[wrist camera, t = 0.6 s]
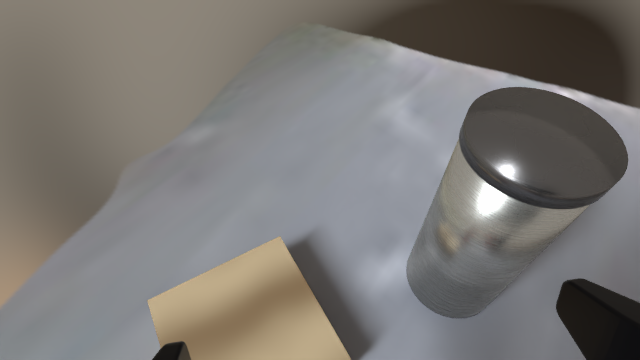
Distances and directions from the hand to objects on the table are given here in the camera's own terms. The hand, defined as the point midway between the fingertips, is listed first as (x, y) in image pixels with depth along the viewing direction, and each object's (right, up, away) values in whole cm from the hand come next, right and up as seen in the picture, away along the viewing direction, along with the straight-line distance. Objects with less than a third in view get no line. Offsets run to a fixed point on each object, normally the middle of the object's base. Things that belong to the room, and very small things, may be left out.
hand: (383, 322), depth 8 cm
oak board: (-6, -7, +15) cm, 17 cm away
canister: (+8, -4, +17) cm, 19 cm away
